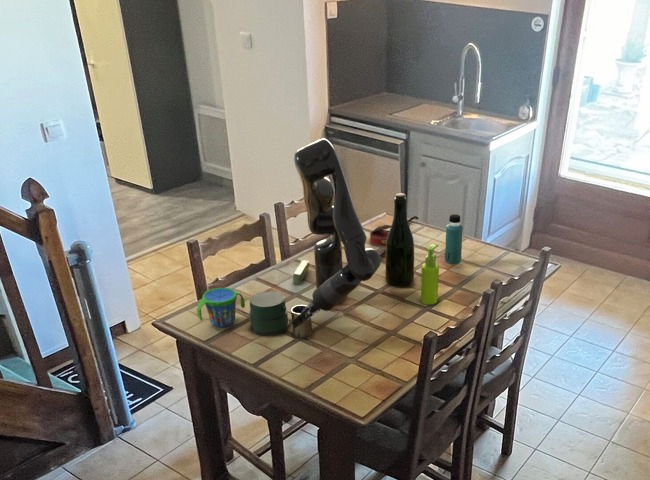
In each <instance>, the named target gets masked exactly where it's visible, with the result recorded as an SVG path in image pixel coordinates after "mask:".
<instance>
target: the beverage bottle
mask: <svg viewBox="0 0 650 480" xmlns="http://www.w3.org/2000/svg"><path fill="white" fill-rule="evenodd" d="M448 222H449V223H448V224H447V225H446V226H445V228H446V229H445V245H444V246H445V248H444V262H445V263H446V264H448V265H459V264H460V263H461V262H462V259H463V258H462V250H463V248H462V247H463V229H464V227H463V225H462V224H461V215H460V214H457V213H452V214H450V215H449V219H448Z"/></svg>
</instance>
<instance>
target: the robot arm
mask: <svg viewBox="0 0 650 480" xmlns="http://www.w3.org/2000/svg"><path fill="white" fill-rule="evenodd" d="M293 161H294V166H295V168H296V172H297V175H298V177H299V181H300V184H301V190H302V196H303V201H304V204H305V208H306V215H307V216H306V217H307V225H308V229H309V231H310V233H311V234H313V235H316V236H328V237H327V238H324V239H321V240H319V241H318V242H316V243H315V244H314V247H313V255H314V267H315V269H314V270H315V285H316V286H315V287H316V289H314V291H313V292H312V300H311V301H310V302H309V303H308V305H306V306H307V307H305V308H304V309H303V310H302V313H301V314H300V315H298V316H297V317H296V318H295V319H294V320H293V321H292V320H291V322H290V324H291V325H293V326H294V327H295V328H296V327H297V326H299V325H301V324H303V323H304V321H306V320H307V319H310V318H311V319H312V317H314V316H315V315H316V314H318V313H320V312H321V310H322V311H326V312H328V311H329V312H330V311H331V310H332V309H334V308H335V307H336V306H337V305H338V304H340V303H342V302H343V301H344V300H345V299H346V298H347V296H348V295H349V294H351V293H352V292H353V291H354V290H356V289H357V287H358V286H359V285H360V284H361V282H367V281H369V280H370V279H371V278H372V277H373V276H374V275H375V273H376V272H377V271H378V270H379V268H380V266H381V263H382V257H383V256H385V255H386V249H385V250H384V251H382V252H381V253H379V251H377V250H376V249H374V248H371V247H370V248H369V247H368V248H366V243H367V234H366V231H365V230H364V227H363V225H362V223H361V220H360V218H359V215H358V213H357V211H356V208H355V206H354V202H353V200H352V199H353V198H352V196H351V193H350V189H349V186H348V183H347V180H346V177H345V174H344V171H343V168H342V165H341V161H340V159H339V157H338V154H337V152H336V149H335V148H334V146H333V145H332V143H331V142H330V141H329V140H328V139H326V138H321V139H318V140H316V141H314V142H311V143H310V144H308V145H306V146H303V147H301V148H299V149H298V150H297V151H296V152H294V154H293ZM329 176H331V177H332V181H333V183H332V181H331V179H329V178H328V177H329ZM419 219H420V218H419V217H418V216H417V215H414V216H412V217H410V218H409V219H407V220H408V224H409V223H410V222H412V221H413V220H419ZM343 249H344V254H345V260H346V263H347V264H346V265H345V266H344V265H343ZM343 266H344V267H343Z"/></svg>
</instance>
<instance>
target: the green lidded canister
mask: <svg viewBox="0 0 650 480" xmlns="http://www.w3.org/2000/svg"><path fill="white" fill-rule="evenodd" d="M248 302H249V312H248V314H249V315H248V316H249V320H250V321H249V322H250V323H249V328H250V331H251V332H252V333H253V334H254V335H256V336H260V337H275V336H279V335H281V334H283V333H286V331H288V330H289V328H290V320H289V316H288V313H289V311H288V308H287V306H286V298H285V296H284V294H282V293H281V292H277V291H271V290H270V291H260V292H258V293H255V294H253V295H251V297H250V299H249V301H248Z"/></svg>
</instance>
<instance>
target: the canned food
mask: <svg viewBox="0 0 650 480" xmlns="http://www.w3.org/2000/svg"><path fill="white" fill-rule="evenodd" d="M390 228H391V225H390V224H385V225H381V226H378V227H376V228H375V229H374V230H371V231H370V234H369V242H370V244H372V245H374V246H377V247H386V240H387V236H388V233H389V230H388V229H390Z"/></svg>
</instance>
